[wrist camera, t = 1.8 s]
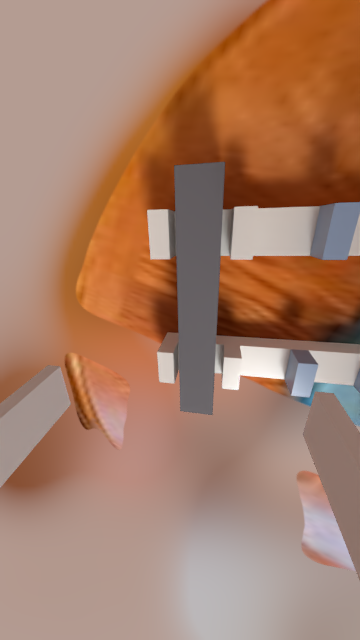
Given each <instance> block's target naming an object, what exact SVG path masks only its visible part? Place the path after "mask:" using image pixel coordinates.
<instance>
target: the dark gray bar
mask: <svg viewBox="0 0 360 640" xmlns="http://www.w3.org/2000/svg"><path fill="white" fill-rule="evenodd" d="M174 176H175V216H176V255H177V294H178V333H179V373H180V409H181V410H180V411H184V412H192V413H201V414H208V415H212V412H213V392H214V374H215V354H216V334H217V314H218V295H219V275H220V255H221V235H222V216H223V196H224V176H225V162H216V163H202V164H188V165H174Z"/></svg>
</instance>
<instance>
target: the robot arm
mask: <svg viewBox="0 0 360 640" xmlns="http://www.w3.org/2000/svg"><path fill="white" fill-rule="evenodd" d="M70 404H71V403H70V400H69V396H68V393H67V390H66V386H65V382H64V379H63V376H62V372H61V368H60V366H49V365H48V366H47V367H45V368H44V369H43V370H42V371H40V372H39V373H38V374H37V375H35V376H34V377H33V378H32V379H30V380H29V381H28V382H27V383H25V384H24V385H23V386H22V387H20V388H19V389H18V390H17V391H15V392H14V393H13V394H12V395H10V396H9V397H8V398H7V399H6V400H4V401H3V402H2V403H1V404H0V487H1V486H2V485H3V484H4V482H5V481H6V480H7V479H8V478H9V477H10V475H11V474H12V473H13V472H14V471H15V470H16V468H17V467H18V466H19V465H20V464H21V462H22V461H23V460H24V459H25V458H26V457H27V455H28V454H29V453H30V452H31V451H32V449H33V448H34V447H35V446H36V445H37V444H38V442H39V441H40V440H41V439H42V438H43V436H44V435H45V434H46V433H47V432H48V430H49V429H50V428H51V427H52V426H53V425H54V423H55V422H56V421H57V420H58V419H59V418H60V416H61V415H62V414H63V413H64V412H65V410H66V409H67V408H68V407H69V406H70ZM303 436H304V438H305V441H306V443H307V446H308V449H309V451H310V454H311V456H312V459H313V461H314V464H315V467H316V469H317V472H318V474H319V477H320V480H321V482H322V485H323V487H324V490H325V492H326V495H327V497H328V500H329V503H330V505H331V508H332V510H333V513H334V515H335V518H336V521H337V523H338V526H339V528H340V531H341V533H342V536H343V539H344V541H345V544H346V546H347V549H348V551H349V554H350V557H351V559H352V562H353V564H354V567H355V569H356V572H357V574H358V577H359V580H360V433H359V431H358V429H357V428H356V426H355V425H354V423H353V422H352V420H351V419H350V417H349V416H348V414H347V413H346V411H345V410H344V408H343V407H342V405H341V404H340V402H339V401H338V399H337V398H336V396H335V395H334V393H324V392H315V394H314V398H313V401H312V404H311V408H310V411H309V415H308V418H307V422H306V426H305V429H304V432H303Z"/></svg>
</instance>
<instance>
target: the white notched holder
mask: <svg viewBox="0 0 360 640" xmlns="http://www.w3.org/2000/svg"><path fill="white" fill-rule="evenodd" d="M147 214H148V229H149V243H150V257H151V259H171V258H173V257H174V256H177V255H176V216H175V211H172V210H169V209H160V210H147ZM220 256H230V258H231V259H248V260H252V259H253V256H312V257H315V258H318V259H321V260H347V258H348V256H360V202H348V203H333V204H328V205H323V206H311V207H283V208H258V206H241V207H234V208H233V209H226V210H223V216H222V235H221V255H220ZM157 355H158V370H159V381H160V382H165V383H175V380H176V377H177V373H178V370H179V333H171V332H167V334H166V336H165V338H164V340H163V342H162V344H161V346H160V348H159V350H158V352H157ZM215 373H221V374H222V388H224V389H233V390H234V389H235V390H239V381H240V375H243V376H254V377H265V378H276V379H285V382H286V384H287V387H288V389H289V391H290V394H291V395H292V396H301V397H310V394H311V390H312V387H313V383H314V382H320V383H331V384H342V385H353V386H354V387H355V388H356V389H357V390H358V392H359V393H360V344H348V343H332V342H316V341H300V340H284V339H268V338H252V337H235V336H219V335H216V354H215Z"/></svg>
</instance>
